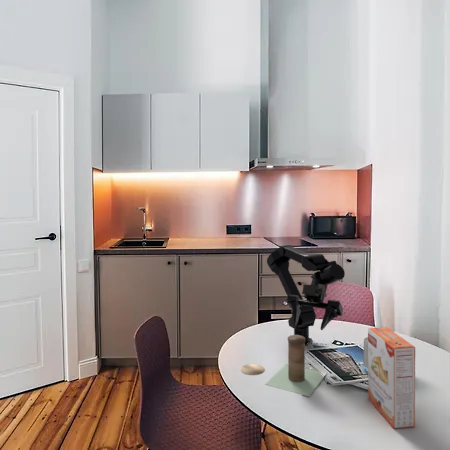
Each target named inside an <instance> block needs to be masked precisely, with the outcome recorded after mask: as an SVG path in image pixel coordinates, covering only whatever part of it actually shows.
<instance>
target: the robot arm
mask: <svg viewBox="0 0 450 450" xmlns="http://www.w3.org/2000/svg"><path fill="white" fill-rule="evenodd" d="M291 260H293V261H295V262H298V263H299V264H301V268H303V269H304V270H306V271H308V272H313V274H312V275H311V276H310V278H311V283H310V284H303V285H302V292H300V290H299V288H298V287H297V284H296V282H295V280H294V277H292V273H291V272H290V270H289V269H290V261H291ZM266 264H267V266H268V268H269V269H270V271H271V272H272V273H274V274H275V275H277V276H278V279H279V280H280V283H281V285H282V288H283V289H284V291H285V294H286V295H287V296H286V298H285V302H286V304H287V305H288V307H289V309H291V311H290V313H291V314H290V315H291V317H289V319H288V320H287V323H288V327H290V328H292V329H293V335H300V336H303V337H305V346H307V345H308V344H309V343H311V341H313V338H311V337H310V329H309V328H310V327H313V326H314V325H315V321H316V317H317V315H316V312H315V310H316V309H315V308H317V309H322V310H324V315H323V319H322V321H321V325H320V330H321V331H323V330H324V329H325V328H326V326H327V325H329V323H331V321H332V320H334V319H335V318H338V317H341V316H343V313H344V308H343V306H342V302H341V301H340V300H336V299H335V300H334V299H328V300H327V301H326V302H325V299H326V298H327V290H328V286H329V285H333V284H335V283H337V282H339V281H341V280H343V279H344V278H345V275H346V274H345V270H344V268H343V267H342V266H341V265H340V264H338V263H337V260H331V261H329V260H328V259H327V258H326V257H325V256H324V255H323V254H322V253H318V252H317V253H315V252H314V253H312V252H306V251H304V250H302V249H299V248H297V247H294V246H292V245H290V244H287V245H286V244H284V245H280V246H279V247H278V248H277V249H275V251H272V252H271V253H270V254H269V255H268V257H267V258H266ZM301 294H302V295H303V296H302V295H301ZM303 297H304V299H303ZM305 299H306V300H305ZM308 342H309V343H308ZM307 343H308V344H307ZM306 344H307V345H306Z"/></svg>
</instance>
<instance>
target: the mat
mask: <svg viewBox="0 0 450 450" xmlns="http://www.w3.org/2000/svg"><path fill="white" fill-rule="evenodd" d="M318 371H319V370H313V369H309V368H306V367H305V380H304V381H302V382H292V381H290V380H289V378H288V363H286V364H285V365H283V367H281V368H280V370H278V371H277V372H276V373H275V374H274V375H273V376H272V377H271V378H270V379H269V380H268V381H267V382H266V383H265V384H264V386H269V387H273V388H276V389H281V390H284V391H288V392H291V393H295V394H300V395H301V396H302V397H304V398H310V397H311V396H312V395H313V393H314V392H315V390H316V389H317V388H318V387H319V385H320V384H321V383H322V382H323V380H324V379H325V377H323V376H322V375H321V374H320V373H319V372H320V371H319V372H318Z"/></svg>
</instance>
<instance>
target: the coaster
mask: <svg viewBox="0 0 450 450" xmlns="http://www.w3.org/2000/svg"><path fill="white" fill-rule="evenodd" d="M265 371H266V368H265V367H264V366H263V365H260V364H257V363H249V364H245V365H243V366H241V368H240V372H241V373H242V374H244V375H247V376H258V375H261V374H263V373H265Z"/></svg>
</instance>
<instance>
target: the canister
mask: <svg viewBox="0 0 450 450" xmlns="http://www.w3.org/2000/svg"><path fill="white" fill-rule="evenodd" d="M287 341H288V343H287V344H288V348H287V350H288V352H287V355H288V356H287V361H288V363H287V364H288V378H289V380H290V381H292V382H302V381H304V380H305V368H306V365H305V364H306V363H305V362H306V361H305V359H306V356H305V352H306V351H305V350H306V349H305V348H306V347H305V346H306V345H305V337H303V336H300V335H294V334H292V335H289V336H287Z"/></svg>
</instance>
